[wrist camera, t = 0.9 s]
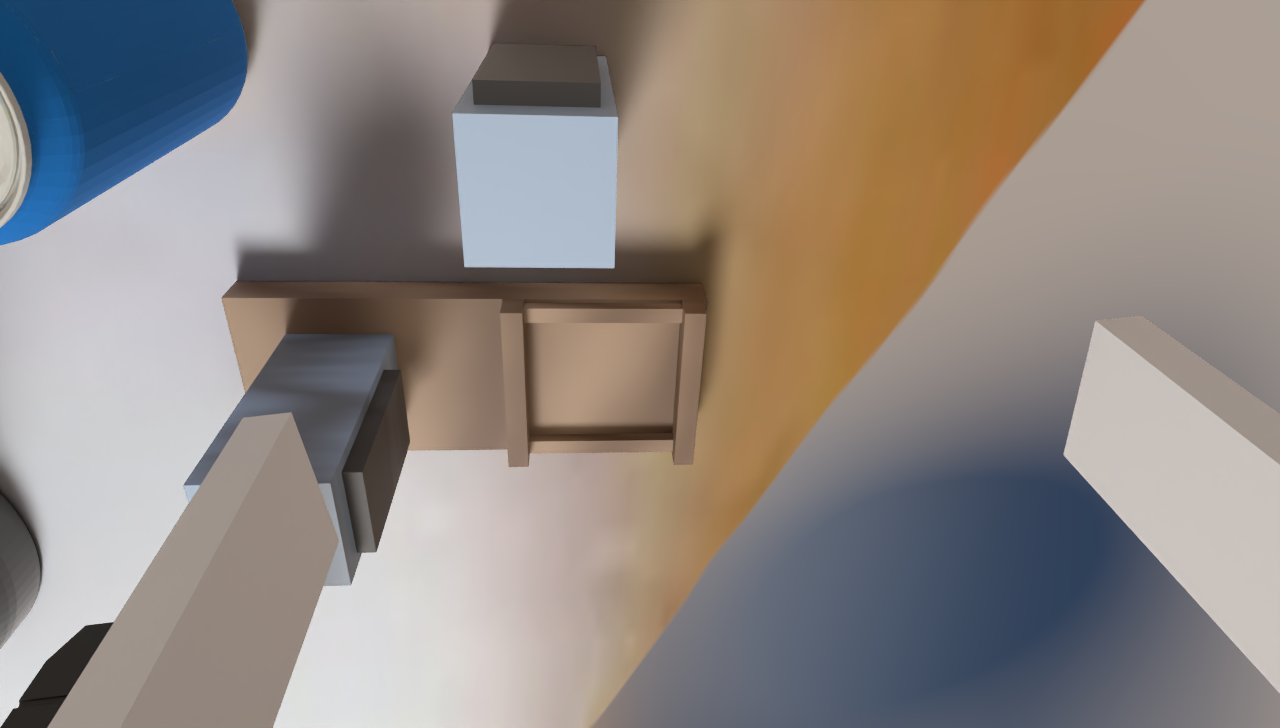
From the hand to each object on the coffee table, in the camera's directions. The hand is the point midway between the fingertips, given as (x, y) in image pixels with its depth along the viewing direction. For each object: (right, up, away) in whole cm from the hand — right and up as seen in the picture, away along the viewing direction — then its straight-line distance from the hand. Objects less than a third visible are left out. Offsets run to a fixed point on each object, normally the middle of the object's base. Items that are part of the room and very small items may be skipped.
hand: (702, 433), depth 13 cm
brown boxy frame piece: (-8, +1, +19) cm, 21 cm away
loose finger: (-4, +10, +15) cm, 18 cm away
